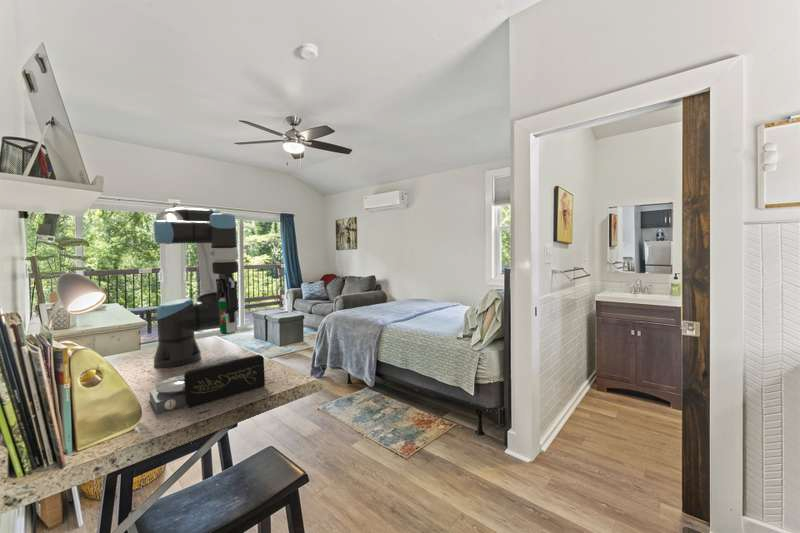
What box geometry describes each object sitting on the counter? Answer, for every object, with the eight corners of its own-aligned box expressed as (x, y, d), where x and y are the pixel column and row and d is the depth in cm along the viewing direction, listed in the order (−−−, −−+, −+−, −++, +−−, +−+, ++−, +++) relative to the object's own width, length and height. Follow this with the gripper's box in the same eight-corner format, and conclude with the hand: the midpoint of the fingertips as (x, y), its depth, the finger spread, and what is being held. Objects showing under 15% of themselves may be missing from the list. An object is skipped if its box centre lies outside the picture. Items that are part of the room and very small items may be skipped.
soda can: (232, 329, 117) (231, 295, 116) (239, 332, 114) (238, 296, 113) (217, 333, 113) (215, 297, 112) (224, 335, 110) (222, 299, 109)
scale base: (150, 400, 98) (149, 390, 97) (200, 386, 107) (200, 377, 106) (157, 414, 89) (156, 403, 89) (211, 397, 98) (211, 387, 98)
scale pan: (153, 387, 98) (153, 382, 98) (196, 376, 106) (196, 371, 106) (160, 399, 90) (160, 393, 90) (206, 386, 98) (206, 381, 98)
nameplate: (262, 384, 108) (261, 353, 107) (265, 386, 106) (263, 355, 105) (186, 406, 94) (183, 371, 93) (187, 409, 92) (185, 373, 92)
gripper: (204, 260, 115) (208, 327, 117) (221, 262, 102) (225, 338, 104) (228, 259, 121) (231, 323, 122) (247, 261, 108) (250, 333, 110)
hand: (228, 330), depth 113 cm, fingers closed on soda can, 5 cm apart
